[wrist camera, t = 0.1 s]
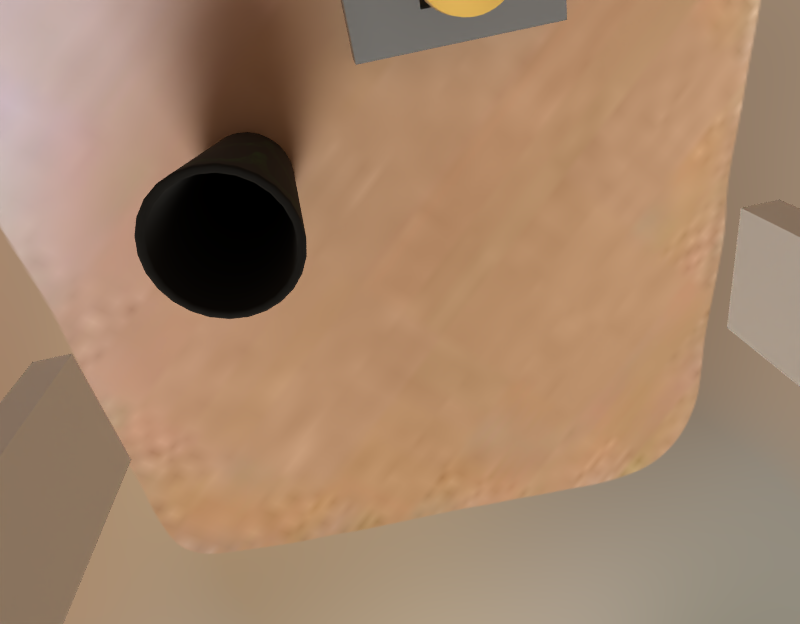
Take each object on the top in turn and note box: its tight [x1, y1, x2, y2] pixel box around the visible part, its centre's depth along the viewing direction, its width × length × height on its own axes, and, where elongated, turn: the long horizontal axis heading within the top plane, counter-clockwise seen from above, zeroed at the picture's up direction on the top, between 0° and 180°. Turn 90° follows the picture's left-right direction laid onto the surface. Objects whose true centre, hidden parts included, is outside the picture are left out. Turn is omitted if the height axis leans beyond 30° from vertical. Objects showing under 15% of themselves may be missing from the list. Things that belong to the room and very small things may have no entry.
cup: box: [135, 132, 306, 319], centre depth 32 cm, size 8×8×12 cm
